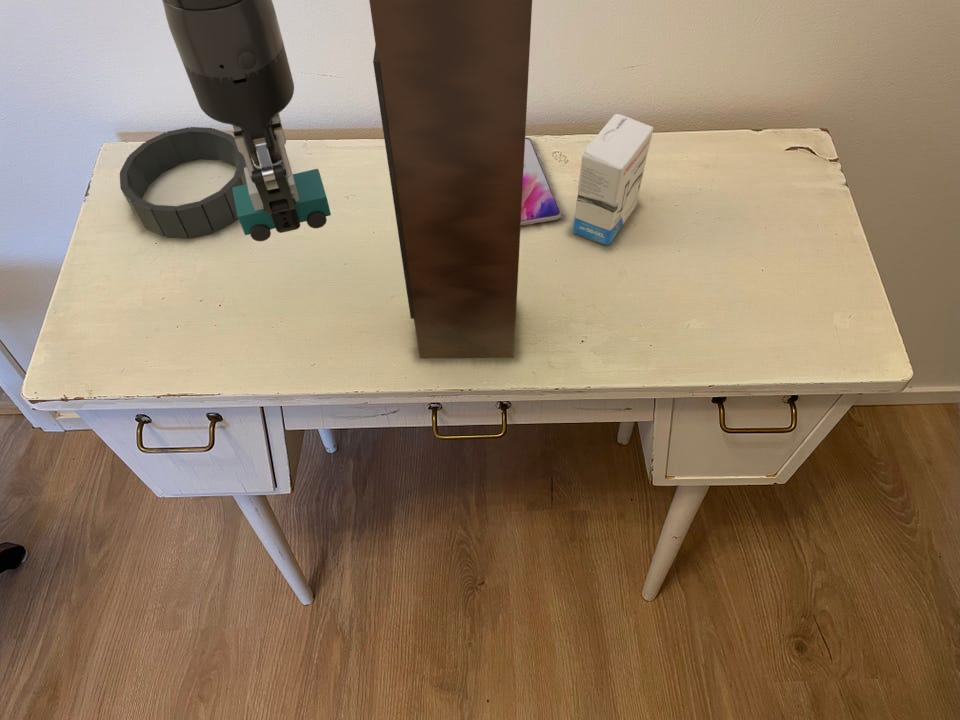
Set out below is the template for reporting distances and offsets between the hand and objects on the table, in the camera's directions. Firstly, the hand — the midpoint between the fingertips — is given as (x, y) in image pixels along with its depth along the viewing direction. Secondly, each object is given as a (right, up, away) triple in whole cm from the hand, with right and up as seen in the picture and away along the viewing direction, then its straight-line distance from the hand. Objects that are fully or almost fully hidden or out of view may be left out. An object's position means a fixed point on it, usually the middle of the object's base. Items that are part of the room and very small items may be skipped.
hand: (284, 210), depth 68 cm
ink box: (+33, +3, +20) cm, 39 cm away
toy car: (0, 0, +1) cm, 1 cm away
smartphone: (+23, +8, +24) cm, 34 cm away
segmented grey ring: (-17, +7, +23) cm, 30 cm away
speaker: (+17, -11, +11) cm, 23 cm away
